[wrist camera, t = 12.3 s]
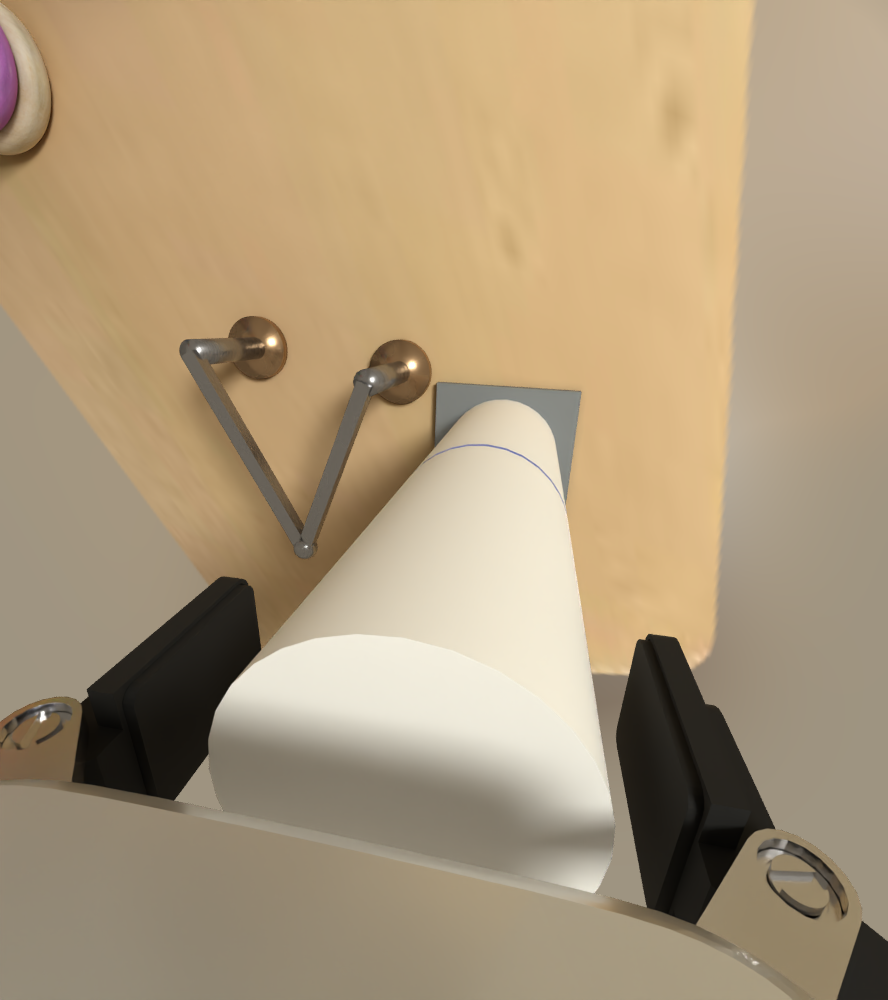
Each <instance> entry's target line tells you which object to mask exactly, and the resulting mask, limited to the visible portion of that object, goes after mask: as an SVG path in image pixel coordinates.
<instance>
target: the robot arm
mask: <svg viewBox="0 0 888 1000" xmlns="http://www.w3.org/2000/svg"><path fill="white" fill-rule="evenodd" d="M260 651H261V644H260V636H259V629H258V621H257V614H256V606H255V599H254V591H253V588H252V587H251V586H248V583H247V581H246V580H244V579H239V578H231V577H220V578H218V579H217V580H216V581H215V582H214V583H212V584H211V585H210V586H209V587H208V588H207V589H205V590H204V591H203V592H202V593H201V594H199V595H198V596H197V597H196V598H195V599H193V600H192V601H191V602H190V603H189V604H188V605H186V606H185V607H184V608H183V609H182V610H180V611H179V612H178V613H177V614H176V615H174V616H173V617H172V618H171V619H170V620H168V621H167V622H166V623H165V624H164V625H163V626H161V627H160V628H159V629H158V630H157V631H155V632H154V633H153V634H152V635H151V636H149V637H148V638H147V639H146V640H145V641H144V642H142V643H141V644H140V645H139V646H138V647H136V648H135V649H134V650H133V651H132V652H130V653H129V654H128V655H127V656H126V657H125V658H123V659H122V660H121V661H120V662H119V663H118V664H116V665H115V666H114V667H113V668H111V669H110V670H109V671H108V672H107V673H105V675H103V676H102V677H101V678H100V679H98V680H97V681H96V682H95V683H94V684H92V685H91V686H90V687H89V688H88V689H87V692H88V696H89V697H87V698H86V699H85V700H84V701H83V702H82V703H79V702H78V701H77V700H76V699H73V698H70V697H54V698H48V699H43V700H40V701H37V702H35V703H32V704H29V705H27V706H25V707H23V708H21V709H19V710H17V711H15V712H13V713H12V714H10V715H9V716H8V717H6V718H5V719H3V720H2V721H1V722H0V1000H888V941H886V940H885V939H883V937H882V936H880V935H879V934H878V933H876V932H875V931H874V930H873V929H871V928H870V927H869V926H868V925H867V924H865V923H864V922H863V921H862V907H861V904H860V901H859V898H858V895H857V892H856V890H855V889H854V887H853V886H852V884H851V882H850V881H849V879H848V878H847V876H846V875H845V874H844V873H843V872H842V870H841V869H840V868H839V867H838V866H837V865H836V864H835V863H834V861H833V860H832V859H831V858H829V857H828V856H827V855H826V854H824V853H823V852H822V851H821V850H819V849H818V848H817V847H816V846H814V845H813V844H811V843H809V842H807V841H806V840H804V839H802V838H800V837H799V836H796V835H794V834H791V833H788V832H785V831H783V830H776V829H775V827H774V825H773V823H772V821H771V818H770V816H769V814H768V812H767V810H766V807H765V806H764V803H763V801H762V799H761V797H760V795H759V792H758V790H757V788H756V786H755V784H754V782H753V779H752V777H751V775H750V773H749V771H748V769H747V766H746V764H745V762H744V760H743V758H742V756H741V753H740V751H739V749H738V747H737V745H736V743H735V741H734V738H733V736H732V734H731V732H730V730H729V727H728V725H727V723H726V721H725V719H724V717H723V715H722V713H721V712H720V710H719V708H717V707H716V706H714V705H708V704H705V702H704V700H703V698H702V695H701V693H700V690H699V688H698V686H697V684H696V681H695V679H694V677H693V674H692V672H691V670H690V667H689V665H688V663H687V660H686V658H685V656H684V653H683V651H682V649H681V646H680V644H679V642H678V640H677V638H675V637H668V636H660V635H653V634H648V635H647V637H646V640H641V639H639V640H638V641H637V644H636V647H635V652H634V656H633V660H632V665H631V669H630V674H629V678H628V683H627V687H626V691H625V695H624V700H623V704H622V709H621V713H620V717H619V721H618V726H617V733H616V742H617V750H618V755H619V760H620V766H621V771H622V777H623V782H624V787H625V792H626V798H627V803H628V808H629V814H630V819H631V825H632V830H633V835H634V841H635V846H636V852H637V857H638V862H639V868H640V873H641V879H642V884H643V889H644V895H645V900H646V905H647V908H646V907H642V906H639V905H635V904H632V903H629V902H625V901H622V900H619V899H615V898H611V897H607V896H603V895H599V894H595V893H591V892H586V891H582V890H578V889H574V888H570V887H566V886H562V885H557V884H553V883H549V882H545V881H541V880H537V879H533V878H528V877H524V876H520V875H515V874H511V873H506V872H502V871H497V870H493V869H488V868H484V867H479V866H475V865H470V864H466V863H461V862H457V861H452V860H448V859H443V858H439V857H434V856H430V855H425V854H421V853H416V852H412V851H407V850H403V849H398V848H393V847H389V846H384V845H380V844H375V843H370V842H366V841H361V840H357V839H352V838H347V837H343V836H338V835H333V834H329V833H324V832H320V831H315V830H310V829H306V828H301V827H296V826H292V825H287V824H282V823H278V822H273V821H268V820H264V819H259V818H254V817H249V816H245V815H240V814H235V813H230V812H226V811H221V810H216V809H211V808H206V807H202V806H196V805H192V804H187V803H182V802H178V801H174V800H175V799H176V797H177V796H178V795H179V793H180V792H181V791H182V789H183V788H184V786H185V785H186V784H187V782H188V781H189V780H190V778H191V777H192V776H193V774H194V773H195V772H196V770H197V769H198V767H199V766H200V765H201V763H202V762H203V761H204V759H205V758H206V757H207V755H208V754H209V747H208V738H209V734H210V730H211V727H212V723H213V719H214V715H215V711H216V709H217V707H218V706H219V704H220V702H221V701H222V699H223V697H224V696H225V694H226V692H227V691H228V689H229V687H230V686H231V684H232V683H233V682H234V681H235V680H236V679H237V677H238V676H239V675H240V674H241V673H242V672H243V670H244V669H245V668H246V667H247V666H248V665H249V664H250V662H251V661H252V660H253V659H254V658H255V657H256V655H257V654H258V653H259V652H260Z"/></svg>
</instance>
